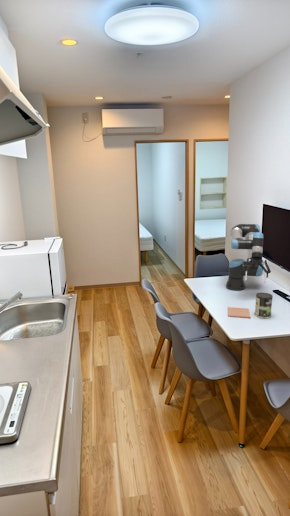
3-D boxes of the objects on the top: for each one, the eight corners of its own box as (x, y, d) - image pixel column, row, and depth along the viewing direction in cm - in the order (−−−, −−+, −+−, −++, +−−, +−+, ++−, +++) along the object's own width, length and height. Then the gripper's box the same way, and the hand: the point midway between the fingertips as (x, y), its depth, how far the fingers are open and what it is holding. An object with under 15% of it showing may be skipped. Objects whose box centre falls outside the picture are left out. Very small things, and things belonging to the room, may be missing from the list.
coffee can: (274, 315, 227) (275, 295, 224) (264, 319, 221) (266, 299, 218) (260, 310, 235) (262, 291, 232) (251, 314, 229) (252, 294, 226)
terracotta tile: (227, 308, 240) (227, 307, 239) (248, 309, 237) (248, 308, 236) (228, 316, 226) (228, 315, 226) (250, 318, 223) (250, 316, 223)
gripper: (240, 250, 252) (238, 278, 247) (275, 253, 247) (274, 281, 242) (239, 253, 259) (237, 280, 254) (273, 255, 254) (272, 284, 249)
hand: (255, 281), depth 248 cm, fingers open, 13 cm apart
